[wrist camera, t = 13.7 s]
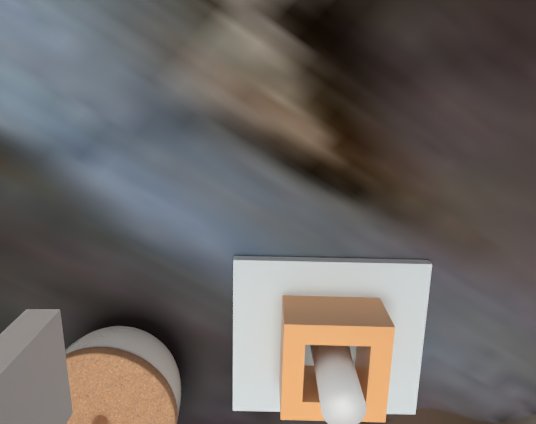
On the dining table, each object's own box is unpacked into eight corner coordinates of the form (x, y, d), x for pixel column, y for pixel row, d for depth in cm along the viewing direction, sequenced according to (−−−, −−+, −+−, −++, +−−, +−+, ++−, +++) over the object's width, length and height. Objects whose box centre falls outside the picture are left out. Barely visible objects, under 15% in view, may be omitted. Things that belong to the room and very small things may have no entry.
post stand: (234, 255, 41) (222, 309, 31) (428, 259, 41) (478, 315, 31) (233, 403, 44) (223, 493, 34) (412, 407, 44) (452, 498, 34)
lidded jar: (47, 330, 42) (-14, 397, 33) (160, 287, 41) (129, 345, 32) (103, 429, 45) (61, 517, 36) (211, 391, 44) (196, 471, 35)
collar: (282, 295, 40) (284, 324, 36) (380, 297, 40) (395, 327, 36) (279, 381, 42) (280, 419, 38) (372, 383, 42) (385, 422, 38)
